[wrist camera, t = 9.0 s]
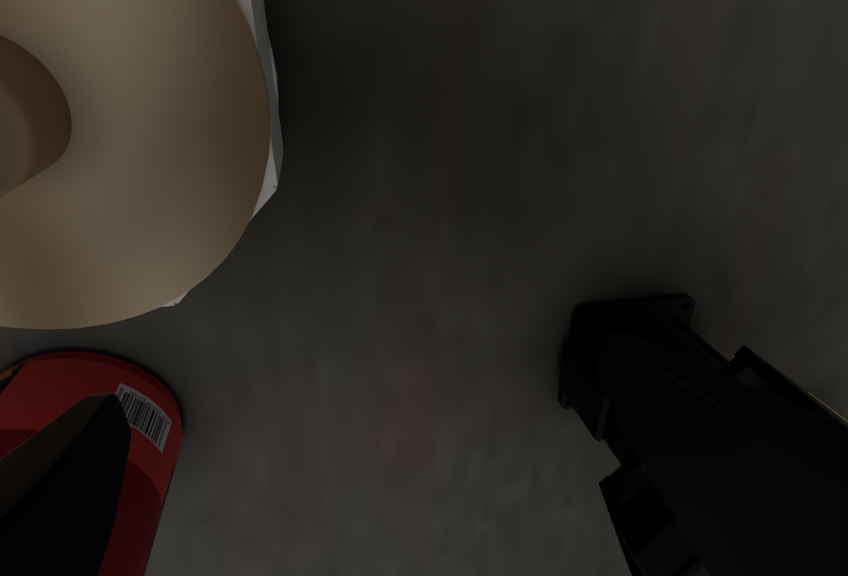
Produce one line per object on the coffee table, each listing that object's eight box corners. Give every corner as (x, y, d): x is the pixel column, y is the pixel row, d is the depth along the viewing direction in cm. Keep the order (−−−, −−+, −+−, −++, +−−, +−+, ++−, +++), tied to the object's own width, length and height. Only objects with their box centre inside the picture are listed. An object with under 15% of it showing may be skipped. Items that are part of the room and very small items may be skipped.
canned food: (-19, 329, 20) (-322, 628, 10) (199, 361, 22) (119, 622, 13) (-15, 467, 23) (-243, 794, 13) (176, 481, 25) (98, 762, 16)
